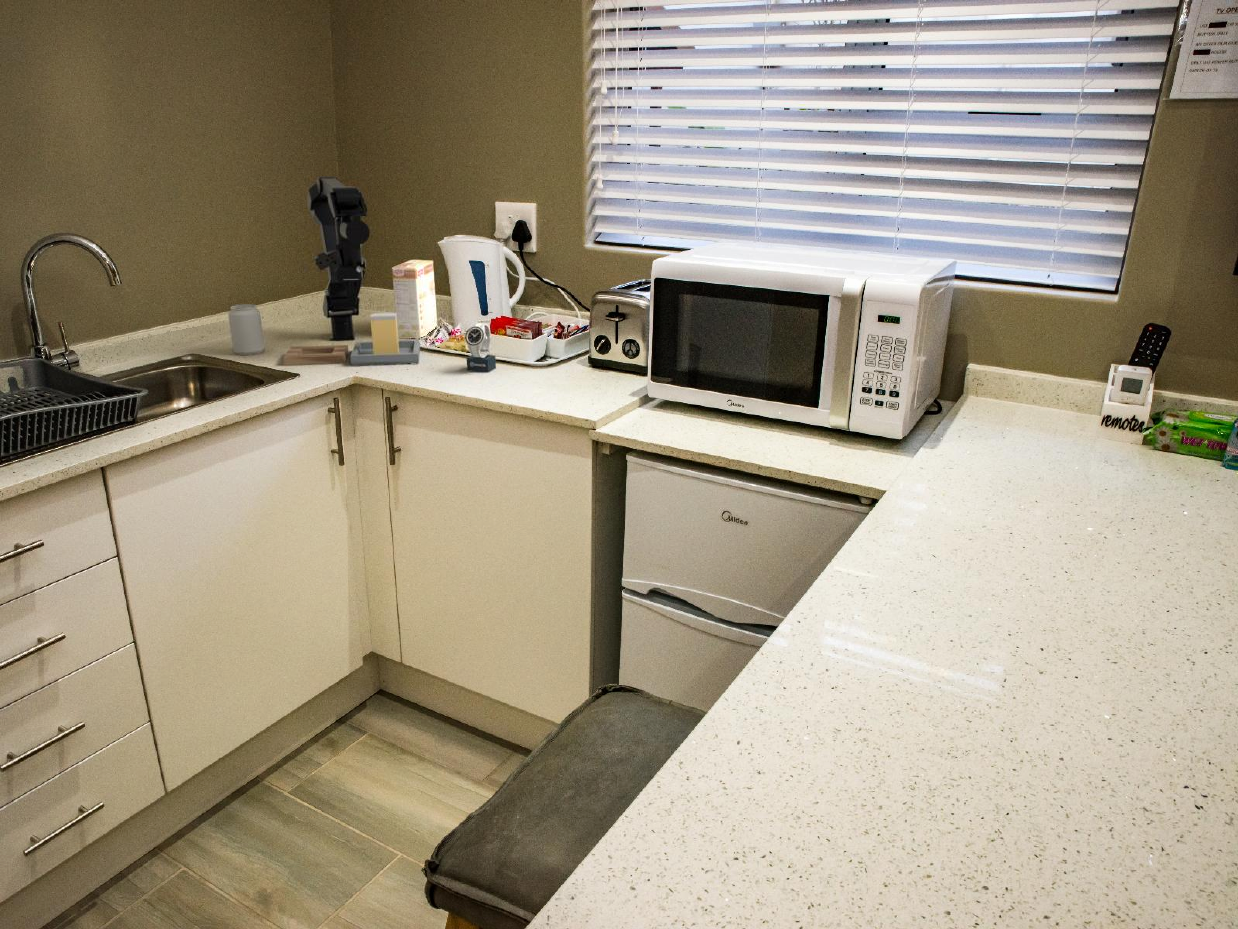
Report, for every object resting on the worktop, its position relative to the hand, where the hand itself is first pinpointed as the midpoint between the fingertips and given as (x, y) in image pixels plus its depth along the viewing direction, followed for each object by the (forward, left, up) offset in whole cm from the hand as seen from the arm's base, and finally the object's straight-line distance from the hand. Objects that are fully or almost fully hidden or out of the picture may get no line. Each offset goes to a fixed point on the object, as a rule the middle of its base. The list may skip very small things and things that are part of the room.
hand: (354, 301), depth 236 cm
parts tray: (+9, +8, -13) cm, 17 cm away
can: (-2, -27, -13) cm, 30 cm away
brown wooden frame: (+8, -9, -13) cm, 18 cm away
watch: (+25, +31, -13) cm, 41 cm away
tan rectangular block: (+9, +8, -12) cm, 17 cm away
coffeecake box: (-19, +15, -13) cm, 27 cm away
